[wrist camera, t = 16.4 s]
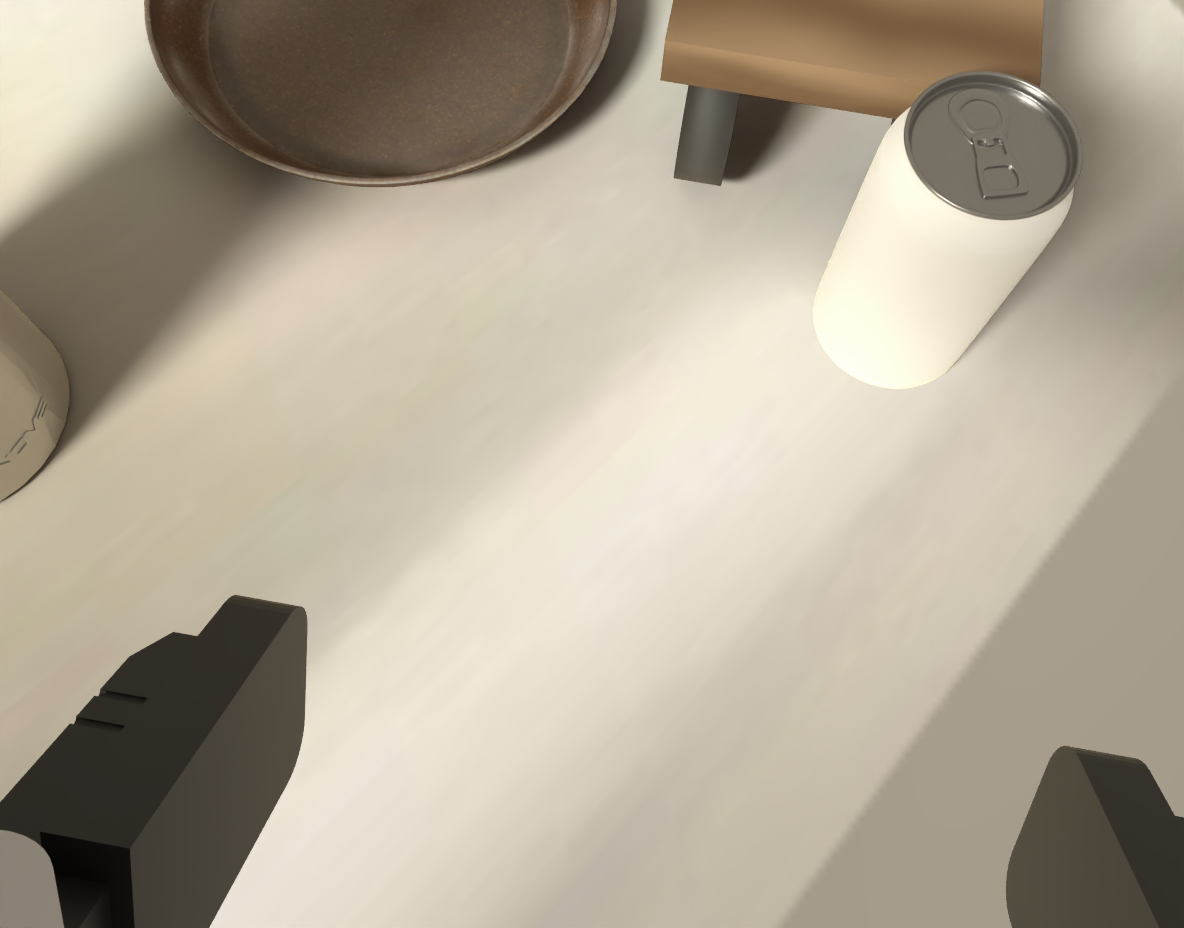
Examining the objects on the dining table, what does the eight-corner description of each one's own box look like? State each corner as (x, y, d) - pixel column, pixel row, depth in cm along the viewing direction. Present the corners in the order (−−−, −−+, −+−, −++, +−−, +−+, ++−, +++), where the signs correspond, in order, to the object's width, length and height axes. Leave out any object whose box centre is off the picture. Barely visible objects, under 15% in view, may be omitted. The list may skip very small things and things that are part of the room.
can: (941, 249, 46) (1063, 50, 35) (981, 384, 44) (1124, 218, 32) (795, 265, 45) (869, 69, 34) (827, 402, 43) (918, 241, 32)
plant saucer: (652, -87, 53) (657, -146, 50) (561, 266, 45) (560, 222, 42) (254, -158, 54) (234, -220, 51) (103, 175, 47) (70, 127, 44)
